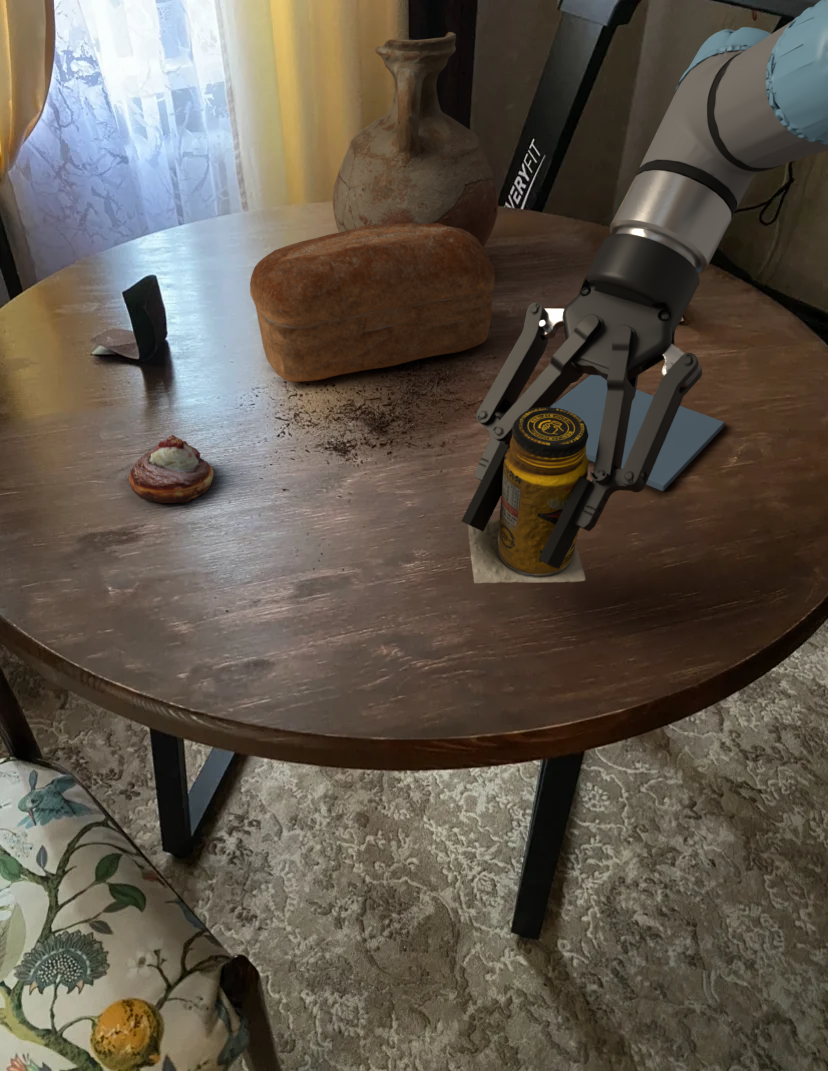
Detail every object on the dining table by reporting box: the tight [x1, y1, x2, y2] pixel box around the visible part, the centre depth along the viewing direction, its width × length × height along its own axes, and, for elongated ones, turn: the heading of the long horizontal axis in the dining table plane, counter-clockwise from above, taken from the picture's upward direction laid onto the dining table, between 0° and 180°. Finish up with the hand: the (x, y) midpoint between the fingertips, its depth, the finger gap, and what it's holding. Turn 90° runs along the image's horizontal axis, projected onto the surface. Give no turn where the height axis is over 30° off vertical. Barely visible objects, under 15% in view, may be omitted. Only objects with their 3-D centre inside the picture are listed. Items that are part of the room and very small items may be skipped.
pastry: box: [128, 434, 215, 504], centre depth 81 cm, size 8×8×5 cm
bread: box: [249, 223, 496, 383], centre depth 97 cm, size 12×28×14 cm, turn 111°
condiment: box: [467, 406, 589, 584], centre depth 62 cm, size 7×8×12 cm
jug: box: [332, 31, 499, 248], centre depth 107 cm, size 22×22×30 cm
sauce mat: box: [550, 375, 725, 492], centre depth 89 cm, size 16×14×1 cm
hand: (509, 544), depth 61 cm, fingers closed on condiment, 6 cm apart
